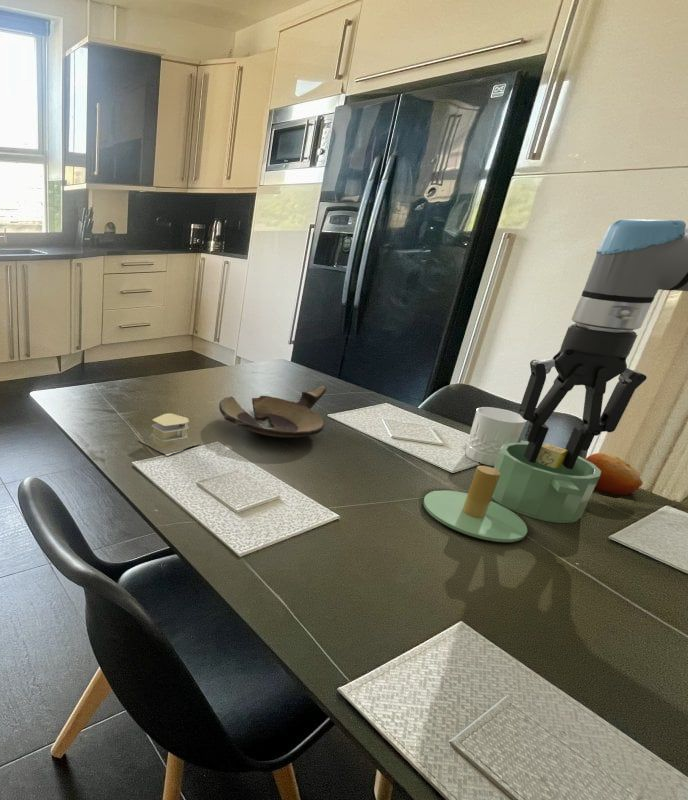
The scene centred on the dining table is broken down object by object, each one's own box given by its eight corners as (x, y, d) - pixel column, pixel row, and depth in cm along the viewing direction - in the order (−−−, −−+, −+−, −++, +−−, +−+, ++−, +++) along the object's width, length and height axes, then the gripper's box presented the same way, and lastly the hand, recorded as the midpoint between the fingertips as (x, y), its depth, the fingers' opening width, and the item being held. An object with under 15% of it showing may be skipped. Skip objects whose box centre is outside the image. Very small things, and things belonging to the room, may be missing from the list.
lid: (509, 507, 83) (527, 460, 80) (538, 555, 72) (561, 502, 68) (416, 489, 89) (430, 444, 85) (429, 530, 77) (446, 480, 74)
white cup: (468, 446, 105) (482, 404, 101) (514, 460, 99) (531, 415, 96) (456, 457, 100) (471, 413, 97) (504, 472, 95) (521, 426, 91)
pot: (556, 485, 90) (573, 444, 87) (603, 541, 75) (626, 494, 72) (474, 470, 95) (488, 431, 92) (502, 519, 80) (520, 475, 77)
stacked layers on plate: (167, 457, 99) (169, 432, 97) (137, 441, 105) (139, 417, 103) (200, 444, 104) (203, 421, 102) (170, 430, 111) (172, 407, 109)
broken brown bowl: (198, 414, 120) (202, 385, 117) (309, 407, 125) (314, 379, 122) (240, 456, 99) (245, 422, 96) (370, 447, 104) (378, 414, 101)
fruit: (556, 466, 94) (599, 440, 90) (594, 494, 92) (640, 469, 88) (567, 485, 88) (614, 457, 83) (609, 516, 86) (659, 489, 82)
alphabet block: (539, 457, 84) (546, 442, 83) (562, 465, 82) (569, 449, 81) (531, 461, 83) (537, 445, 82) (554, 469, 80) (561, 453, 79)
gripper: (541, 325, 74) (491, 460, 82) (698, 339, 67) (626, 484, 76) (524, 316, 80) (479, 443, 89) (666, 328, 74) (603, 463, 82)
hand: (547, 461), depth 82 cm, fingers closed on alphabet block, 4 cm apart
